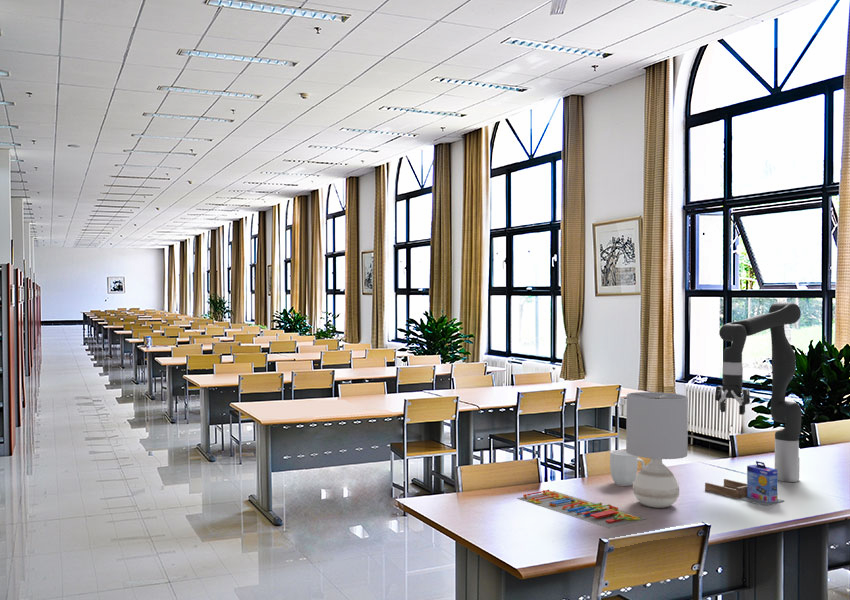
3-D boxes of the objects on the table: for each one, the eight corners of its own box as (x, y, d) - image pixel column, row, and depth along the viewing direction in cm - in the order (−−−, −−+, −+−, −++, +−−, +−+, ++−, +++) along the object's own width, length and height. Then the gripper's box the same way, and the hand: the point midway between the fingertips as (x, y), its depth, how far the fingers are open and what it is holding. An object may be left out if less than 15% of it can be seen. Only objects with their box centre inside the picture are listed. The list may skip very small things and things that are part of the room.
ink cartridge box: (745, 497, 293) (746, 459, 293) (755, 495, 296) (755, 458, 296) (768, 503, 284) (769, 464, 284) (778, 501, 287) (778, 463, 287)
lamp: (644, 494, 298) (645, 390, 298) (697, 505, 282) (698, 396, 282) (614, 504, 282) (615, 395, 282) (668, 516, 267) (669, 401, 267)
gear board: (646, 513, 264) (608, 522, 253) (646, 520, 264) (608, 530, 253) (553, 486, 301) (517, 493, 290) (553, 492, 301) (517, 499, 290)
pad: (760, 495, 297) (760, 494, 297) (784, 501, 289) (784, 500, 289) (741, 499, 291) (741, 498, 291) (765, 505, 282) (765, 504, 282)
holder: (725, 486, 312) (725, 476, 312) (758, 494, 299) (758, 484, 299) (705, 490, 305) (705, 480, 305) (738, 498, 292) (738, 488, 292)
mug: (637, 480, 321) (638, 449, 321) (651, 486, 310) (651, 454, 310) (605, 481, 318) (605, 450, 318) (617, 488, 307) (617, 455, 307)
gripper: (754, 374, 306) (753, 414, 306) (723, 371, 318) (722, 410, 318) (742, 375, 302) (742, 416, 302) (711, 372, 314) (711, 411, 314)
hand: (732, 413), depth 310 cm, fingers open, 8 cm apart
